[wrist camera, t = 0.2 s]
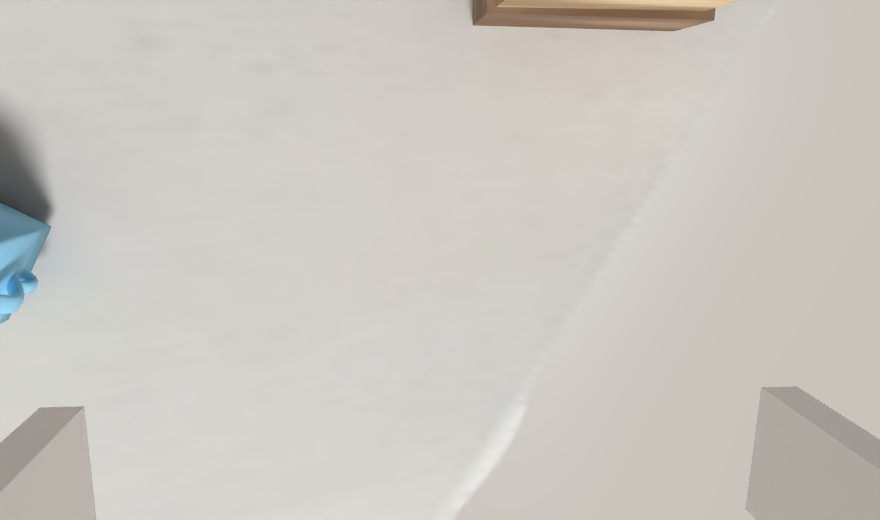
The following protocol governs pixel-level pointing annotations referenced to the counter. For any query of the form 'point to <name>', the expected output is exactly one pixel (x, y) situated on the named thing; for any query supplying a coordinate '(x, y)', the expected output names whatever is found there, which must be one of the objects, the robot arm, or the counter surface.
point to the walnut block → (587, 17)
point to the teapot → (18, 257)
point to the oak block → (618, 4)
